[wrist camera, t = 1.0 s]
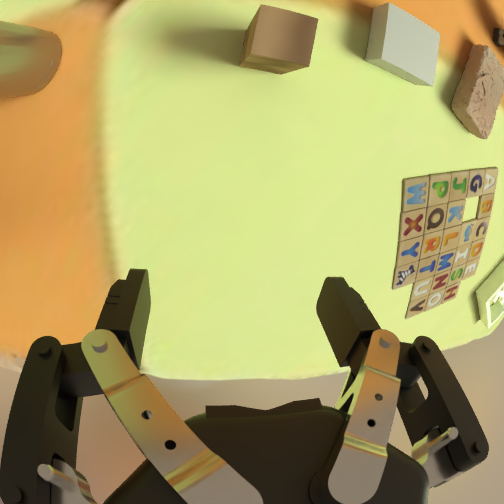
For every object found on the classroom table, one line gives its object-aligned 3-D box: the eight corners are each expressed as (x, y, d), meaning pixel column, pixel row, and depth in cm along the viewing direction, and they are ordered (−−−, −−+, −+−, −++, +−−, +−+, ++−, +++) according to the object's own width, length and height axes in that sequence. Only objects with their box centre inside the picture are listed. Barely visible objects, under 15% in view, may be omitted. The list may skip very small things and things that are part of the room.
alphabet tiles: (400, 177, 37) (404, 180, 36) (494, 165, 37) (498, 167, 36) (382, 324, 55) (385, 328, 54) (466, 289, 55) (469, 292, 54)
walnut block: (239, 66, 26) (250, 53, 18) (246, 29, 24) (261, 4, 16) (281, 74, 28) (308, 66, 19) (288, 38, 25) (318, 18, 17)
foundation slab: (364, 60, 27) (381, 58, 24) (373, 8, 22) (389, 2, 19) (415, 84, 29) (433, 86, 25) (422, 35, 24) (440, 33, 21)
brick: (471, 41, 24) (489, 42, 20) (493, 72, 27) (510, 75, 23) (445, 107, 31) (465, 112, 27) (469, 135, 34) (487, 142, 30)
